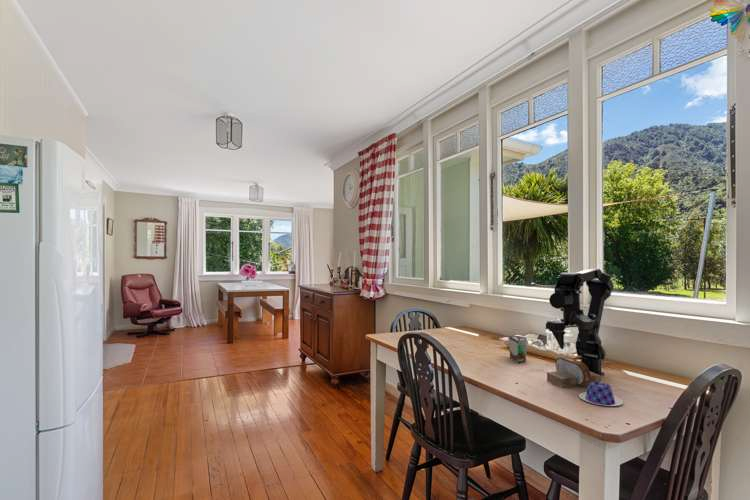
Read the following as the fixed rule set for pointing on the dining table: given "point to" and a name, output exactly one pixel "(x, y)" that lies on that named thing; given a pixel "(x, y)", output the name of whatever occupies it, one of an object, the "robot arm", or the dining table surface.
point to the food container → (518, 348)
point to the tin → (574, 369)
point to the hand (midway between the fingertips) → (572, 347)
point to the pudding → (600, 394)
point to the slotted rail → (568, 378)
